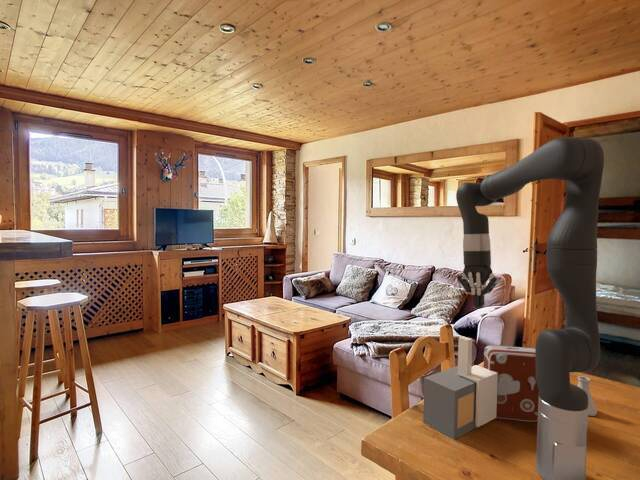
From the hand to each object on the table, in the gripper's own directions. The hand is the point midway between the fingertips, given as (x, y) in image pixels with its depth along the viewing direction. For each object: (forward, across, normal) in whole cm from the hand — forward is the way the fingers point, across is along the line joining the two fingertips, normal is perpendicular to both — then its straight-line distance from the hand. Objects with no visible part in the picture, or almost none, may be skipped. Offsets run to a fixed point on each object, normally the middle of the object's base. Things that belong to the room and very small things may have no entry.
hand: (478, 307), depth 111 cm
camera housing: (+31, +2, +8) cm, 33 cm away
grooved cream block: (+31, -1, +5) cm, 31 cm away
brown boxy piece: (+32, -7, -8) cm, 34 cm away
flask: (+33, -17, -26) cm, 45 cm away
